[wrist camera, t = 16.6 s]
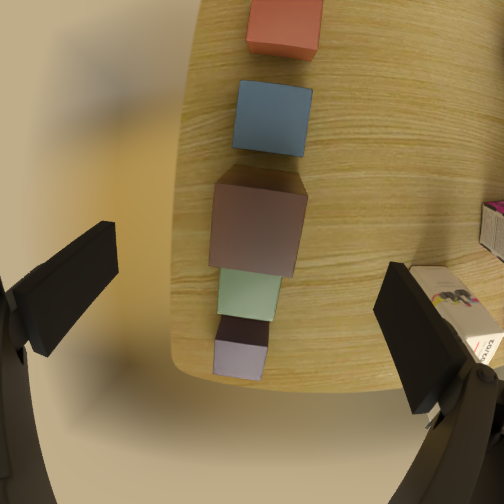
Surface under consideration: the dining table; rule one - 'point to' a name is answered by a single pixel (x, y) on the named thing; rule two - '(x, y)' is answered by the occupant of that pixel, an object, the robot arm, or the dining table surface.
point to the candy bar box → (493, 228)
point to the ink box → (460, 313)
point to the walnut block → (257, 221)
